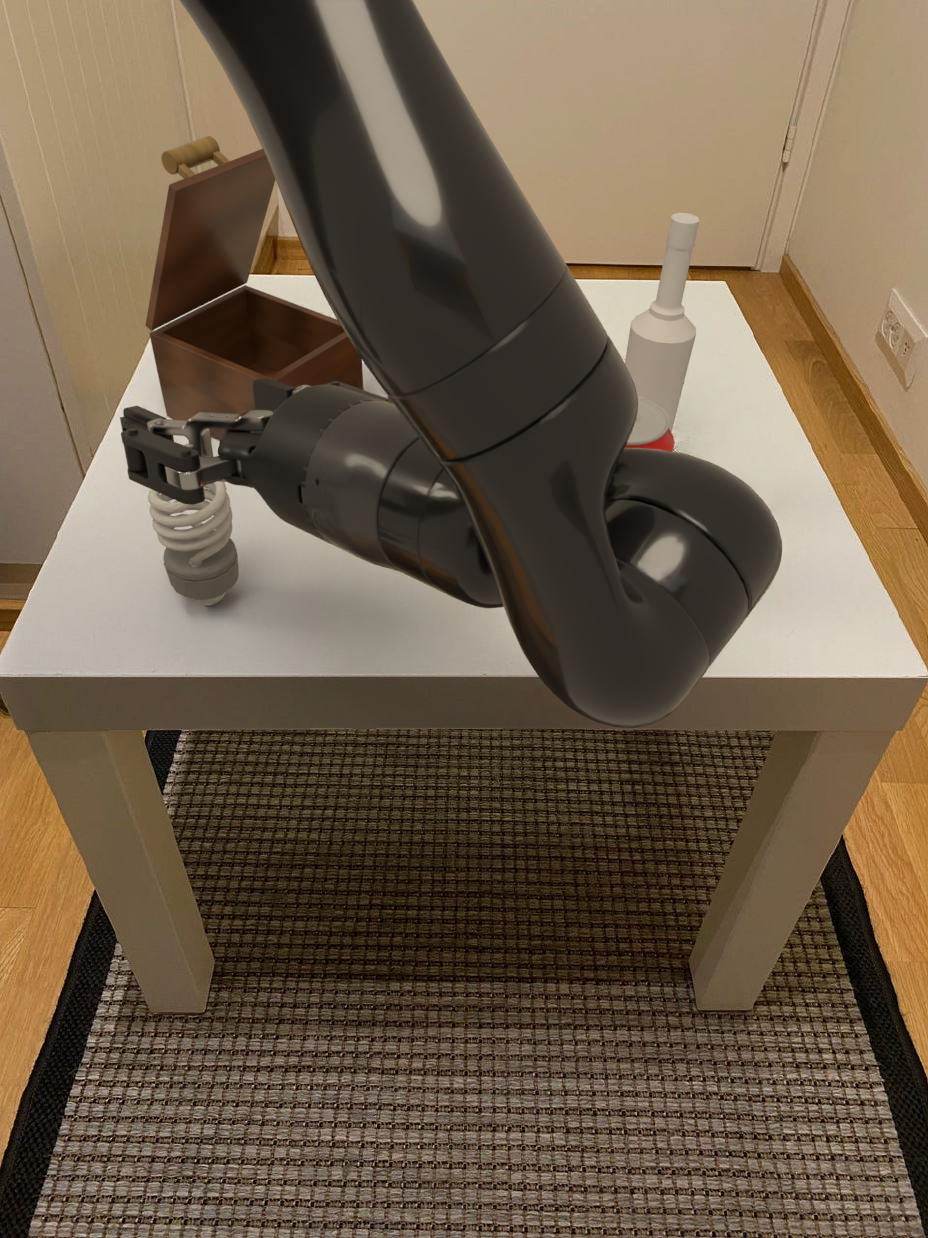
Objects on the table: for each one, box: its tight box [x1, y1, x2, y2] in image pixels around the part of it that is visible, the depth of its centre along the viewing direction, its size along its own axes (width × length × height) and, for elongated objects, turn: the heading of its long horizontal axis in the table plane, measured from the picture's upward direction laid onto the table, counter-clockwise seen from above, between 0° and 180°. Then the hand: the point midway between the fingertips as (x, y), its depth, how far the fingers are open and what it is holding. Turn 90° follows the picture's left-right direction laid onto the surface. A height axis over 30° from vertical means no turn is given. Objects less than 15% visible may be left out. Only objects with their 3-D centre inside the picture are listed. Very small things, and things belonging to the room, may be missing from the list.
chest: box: [149, 284, 364, 442], centre depth 90 cm, size 15×13×9 cm
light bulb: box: [147, 481, 239, 606], centre depth 69 cm, size 6×6×12 cm
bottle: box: [624, 212, 701, 433], centre depth 77 cm, size 5×5×25 cm
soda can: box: [625, 396, 675, 452], centre depth 72 cm, size 8×8×15 cm
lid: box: [145, 135, 276, 332], centre depth 83 cm, size 15×13×5 cm
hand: (197, 408), depth 56 cm, fingers open, 8 cm apart
